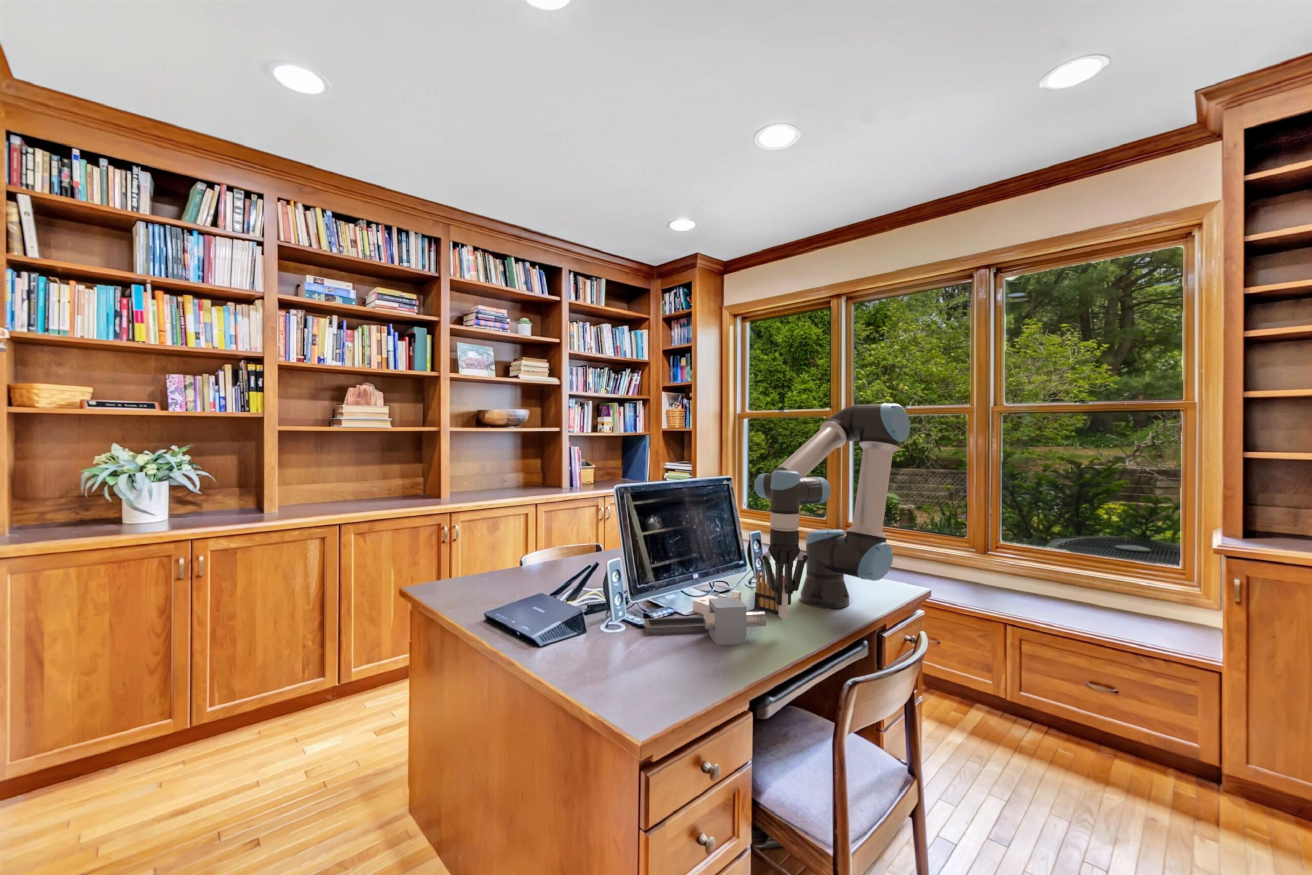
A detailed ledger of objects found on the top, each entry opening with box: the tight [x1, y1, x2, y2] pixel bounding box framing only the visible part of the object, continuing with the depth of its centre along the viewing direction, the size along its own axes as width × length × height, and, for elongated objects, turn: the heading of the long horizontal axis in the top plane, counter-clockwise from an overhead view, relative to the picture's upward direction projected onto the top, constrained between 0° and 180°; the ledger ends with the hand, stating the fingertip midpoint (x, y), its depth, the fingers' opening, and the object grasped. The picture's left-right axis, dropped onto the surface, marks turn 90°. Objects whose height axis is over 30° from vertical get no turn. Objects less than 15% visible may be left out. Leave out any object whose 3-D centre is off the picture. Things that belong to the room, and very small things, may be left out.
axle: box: [702, 610, 767, 629], centre depth 145 cm, size 16×4×4 cm, turn 98°
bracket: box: [692, 589, 742, 615], centre depth 165 cm, size 13×7×8 cm, turn 40°
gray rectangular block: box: [708, 597, 748, 646], centre depth 145 cm, size 8×8×10 cm
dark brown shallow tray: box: [643, 615, 709, 636], centre depth 152 cm, size 21×7×2 cm, turn 98°
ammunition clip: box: [753, 569, 785, 616], centre depth 167 cm, size 11×2×12 cm, turn 46°
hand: (783, 616), depth 147 cm, fingers closed
